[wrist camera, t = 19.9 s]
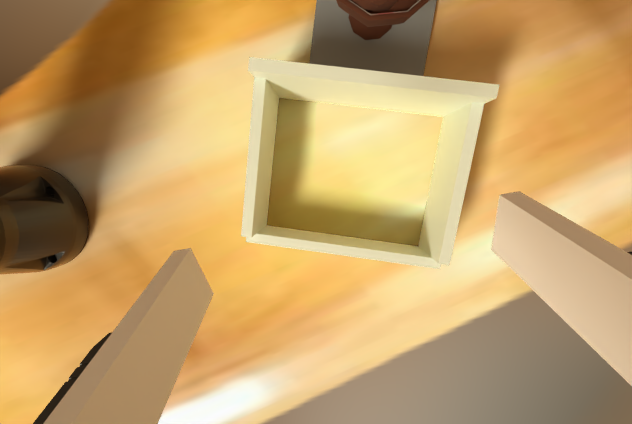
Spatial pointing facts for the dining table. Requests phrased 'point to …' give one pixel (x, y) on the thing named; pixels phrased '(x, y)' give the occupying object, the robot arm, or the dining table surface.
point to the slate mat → (371, 42)
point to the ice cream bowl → (378, 15)
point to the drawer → (376, 93)
